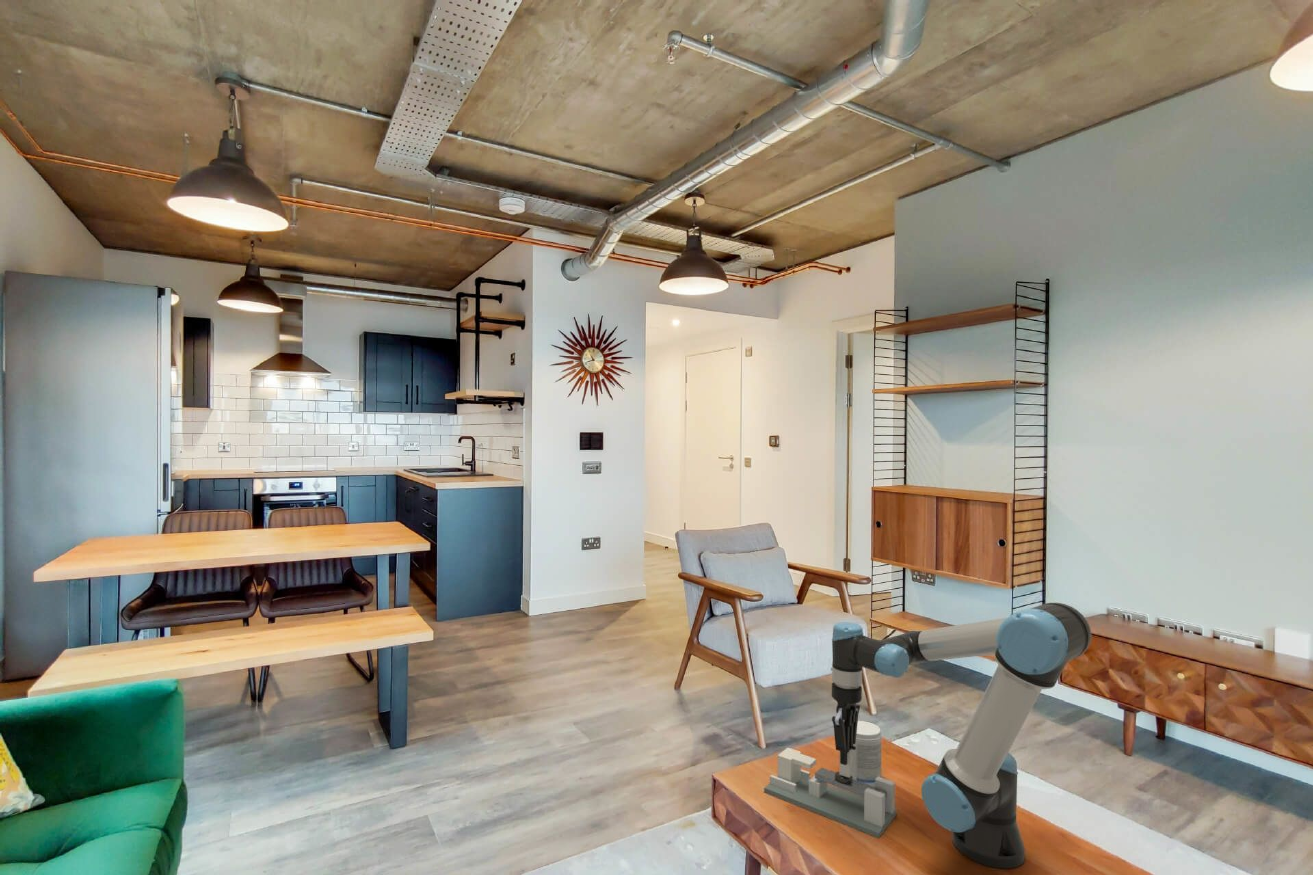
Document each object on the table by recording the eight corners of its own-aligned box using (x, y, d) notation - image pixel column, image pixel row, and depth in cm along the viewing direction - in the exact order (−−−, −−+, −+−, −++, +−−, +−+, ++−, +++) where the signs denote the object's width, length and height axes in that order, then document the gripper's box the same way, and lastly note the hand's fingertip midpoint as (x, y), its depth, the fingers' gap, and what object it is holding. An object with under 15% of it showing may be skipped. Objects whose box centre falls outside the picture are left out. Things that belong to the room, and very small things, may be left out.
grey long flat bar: (886, 796, 162) (887, 787, 162) (880, 804, 159) (880, 794, 159) (821, 772, 173) (822, 763, 173) (814, 778, 170) (814, 769, 170)
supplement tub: (887, 780, 180) (888, 728, 181) (870, 792, 174) (871, 738, 174) (855, 767, 187) (856, 717, 188) (838, 778, 181) (839, 726, 181)
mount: (896, 814, 164) (897, 781, 164) (878, 837, 154) (879, 802, 154) (786, 773, 183) (787, 743, 183) (764, 792, 173) (764, 760, 173)
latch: (817, 785, 175) (817, 757, 175) (807, 794, 170) (808, 766, 170) (787, 774, 180) (787, 747, 181) (777, 782, 176) (777, 755, 176)
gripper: (842, 673, 175) (841, 760, 174) (822, 687, 164) (821, 779, 164) (870, 680, 170) (868, 769, 170) (850, 694, 160) (849, 790, 159)
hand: (845, 774), depth 167 cm, fingers closed
